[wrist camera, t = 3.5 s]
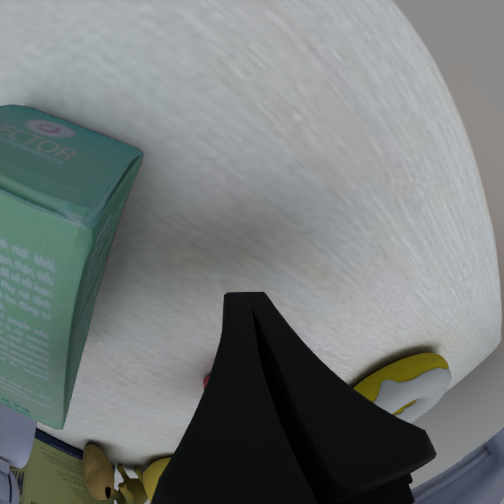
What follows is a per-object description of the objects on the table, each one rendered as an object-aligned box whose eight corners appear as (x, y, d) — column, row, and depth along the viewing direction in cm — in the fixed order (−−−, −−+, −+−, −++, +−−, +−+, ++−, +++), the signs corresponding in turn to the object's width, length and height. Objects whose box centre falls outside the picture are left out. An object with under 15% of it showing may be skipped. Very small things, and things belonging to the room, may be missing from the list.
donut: (386, 409, 33) (398, 437, 29) (307, 419, 29) (319, 456, 25) (453, 343, 27) (473, 373, 23) (383, 342, 23) (408, 386, 18)
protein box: (32, 426, 24) (21, 523, 11) (116, 464, 33) (118, 546, 20) (11, 431, 26) (0, 510, 13) (84, 466, 34) (83, 537, 21)
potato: (111, 513, 22) (87, 476, 28) (143, 485, 26) (116, 449, 32) (73, 500, 19) (54, 459, 24) (108, 469, 23) (84, 430, 28)
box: (152, 144, 11) (95, 222, 5) (88, 336, 17) (66, 434, 11) (23, 95, 9) (-94, 134, 2) (0, 297, 14) (-42, 382, 8)
